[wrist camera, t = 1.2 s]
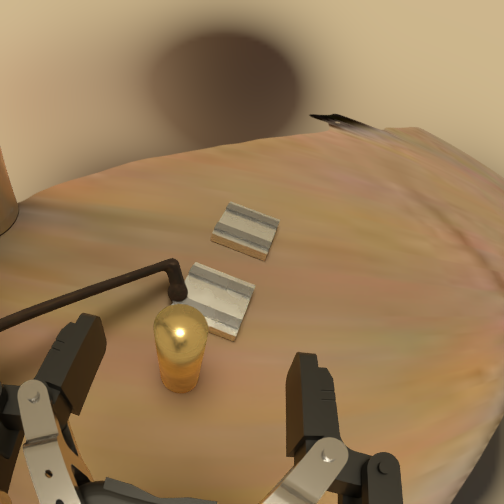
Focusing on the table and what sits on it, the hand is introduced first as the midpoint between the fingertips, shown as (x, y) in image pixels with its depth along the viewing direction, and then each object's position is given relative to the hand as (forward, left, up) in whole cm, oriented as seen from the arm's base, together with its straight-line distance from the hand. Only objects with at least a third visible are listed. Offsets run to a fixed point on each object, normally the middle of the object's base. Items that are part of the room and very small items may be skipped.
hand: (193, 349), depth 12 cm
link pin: (-2, +5, -21) cm, 22 cm away
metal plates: (-2, +21, -21) cm, 30 cm away
